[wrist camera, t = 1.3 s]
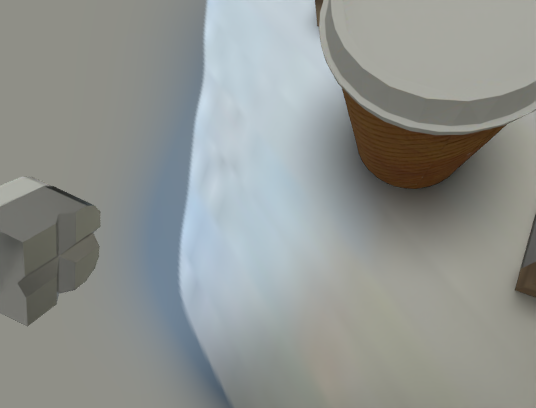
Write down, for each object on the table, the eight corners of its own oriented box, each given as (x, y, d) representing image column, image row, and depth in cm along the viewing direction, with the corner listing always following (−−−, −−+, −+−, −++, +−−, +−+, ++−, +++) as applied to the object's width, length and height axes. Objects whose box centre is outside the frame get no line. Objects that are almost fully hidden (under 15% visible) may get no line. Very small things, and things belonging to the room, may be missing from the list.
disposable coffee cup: (379, 245, 26) (403, 164, 14) (303, 112, 29) (274, -38, 18) (532, 168, 26) (677, 26, 14) (439, 43, 29) (497, -153, 18)
